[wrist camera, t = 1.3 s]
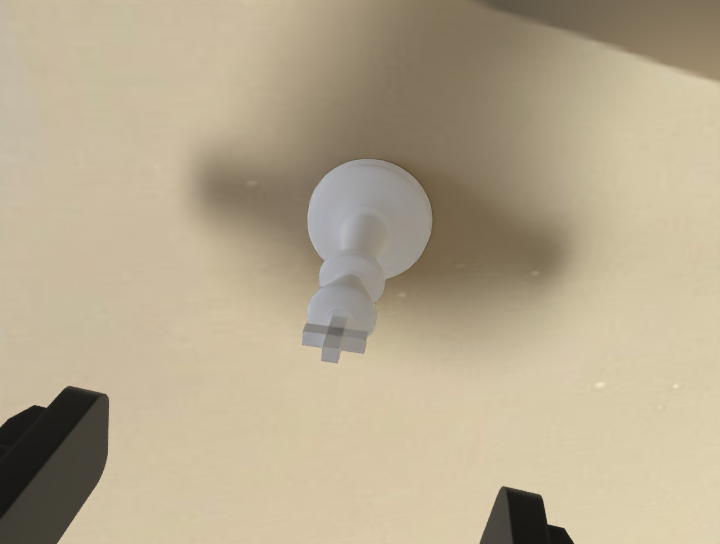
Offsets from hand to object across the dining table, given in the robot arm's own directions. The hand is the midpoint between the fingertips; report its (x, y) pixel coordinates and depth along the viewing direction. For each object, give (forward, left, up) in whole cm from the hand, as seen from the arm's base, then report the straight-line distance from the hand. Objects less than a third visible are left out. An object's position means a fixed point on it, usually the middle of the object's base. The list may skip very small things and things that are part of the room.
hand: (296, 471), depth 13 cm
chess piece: (0, 0, -15) cm, 15 cm away
